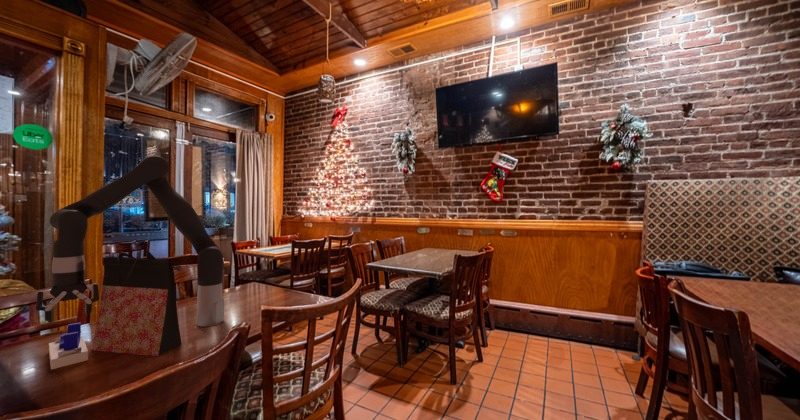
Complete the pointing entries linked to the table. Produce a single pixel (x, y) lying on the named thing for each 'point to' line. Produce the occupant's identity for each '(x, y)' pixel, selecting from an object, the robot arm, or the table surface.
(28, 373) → the table surface
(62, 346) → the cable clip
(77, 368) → the table surface
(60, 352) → the white slotted block
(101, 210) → the robot arm
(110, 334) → the gift bag
